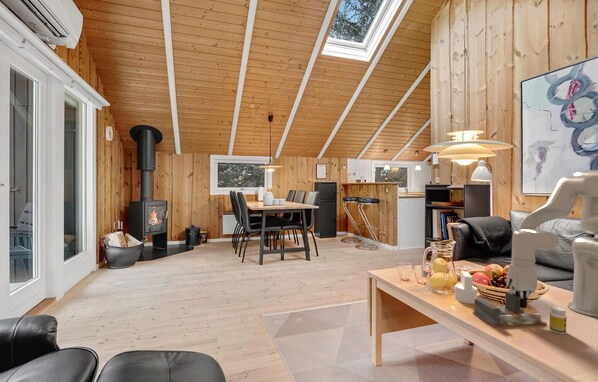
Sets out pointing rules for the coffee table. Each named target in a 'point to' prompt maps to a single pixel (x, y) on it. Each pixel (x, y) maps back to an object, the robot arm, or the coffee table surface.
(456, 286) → the cylinder with rectangular tab
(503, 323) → the gauge base
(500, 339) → the coffee table surface
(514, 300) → the l-shaped angle bracket
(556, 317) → the supplement bottle
